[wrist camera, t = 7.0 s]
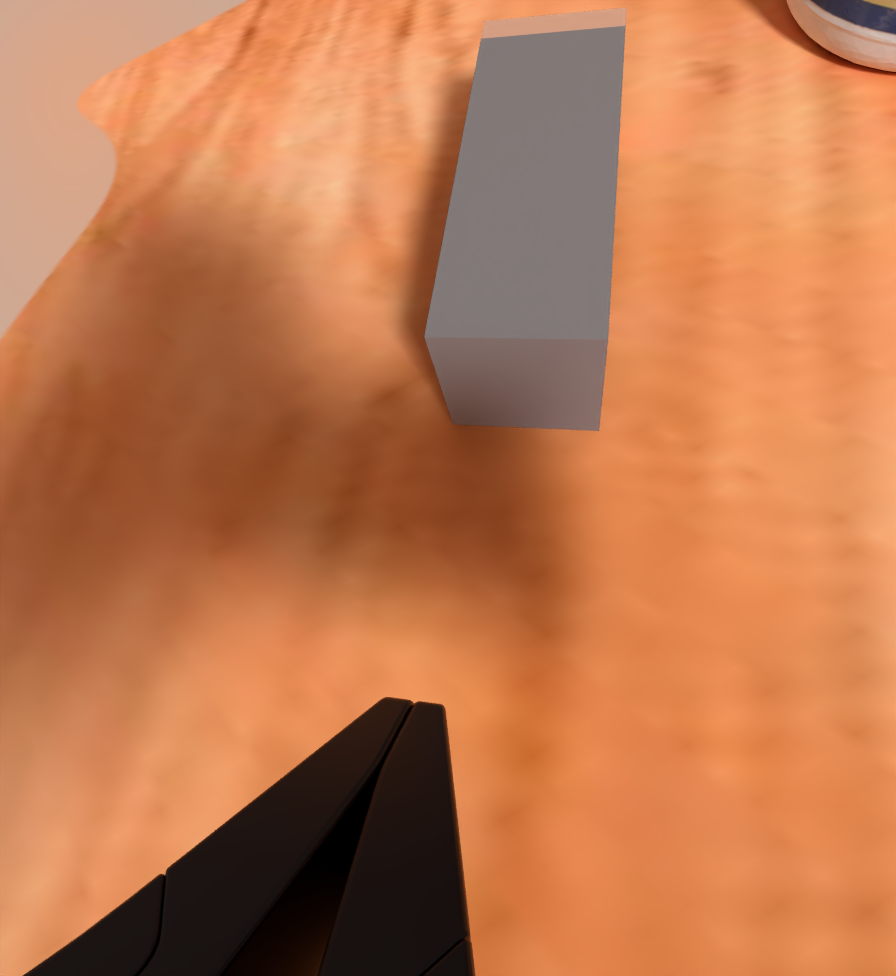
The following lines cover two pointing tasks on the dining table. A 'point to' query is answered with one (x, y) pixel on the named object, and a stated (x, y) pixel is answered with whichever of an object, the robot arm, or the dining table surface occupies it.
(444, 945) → the robot arm
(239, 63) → the dining table surface
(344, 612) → the dining table surface
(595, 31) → the charcoal block
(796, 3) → the supplement tub
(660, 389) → the dining table surface
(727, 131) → the dining table surface
